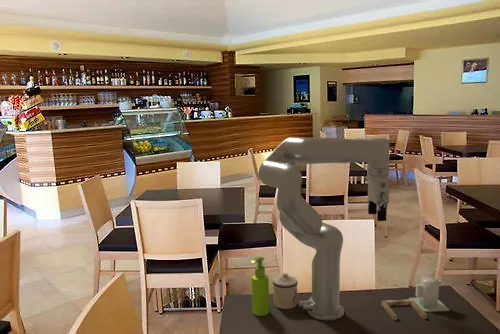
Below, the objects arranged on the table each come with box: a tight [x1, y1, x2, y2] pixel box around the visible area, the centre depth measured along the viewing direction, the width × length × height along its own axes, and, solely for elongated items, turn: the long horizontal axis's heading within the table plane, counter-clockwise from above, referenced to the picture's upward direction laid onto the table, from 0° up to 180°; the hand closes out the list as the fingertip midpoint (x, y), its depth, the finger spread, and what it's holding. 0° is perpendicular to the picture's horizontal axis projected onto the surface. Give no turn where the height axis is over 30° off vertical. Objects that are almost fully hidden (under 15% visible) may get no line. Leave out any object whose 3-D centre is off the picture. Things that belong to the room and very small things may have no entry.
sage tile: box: [408, 297, 450, 313], centre depth 149 cm, size 10×10×1 cm
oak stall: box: [380, 298, 428, 321], centre depth 144 cm, size 11×11×2 cm
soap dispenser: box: [250, 256, 270, 317], centre depth 145 cm, size 6×7×20 cm
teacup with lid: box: [272, 272, 299, 310], centre depth 153 cm, size 12×9×12 cm
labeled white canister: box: [415, 275, 443, 308], centre depth 148 cm, size 6×8×9 cm
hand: (376, 217), depth 154 cm, fingers open, 9 cm apart
